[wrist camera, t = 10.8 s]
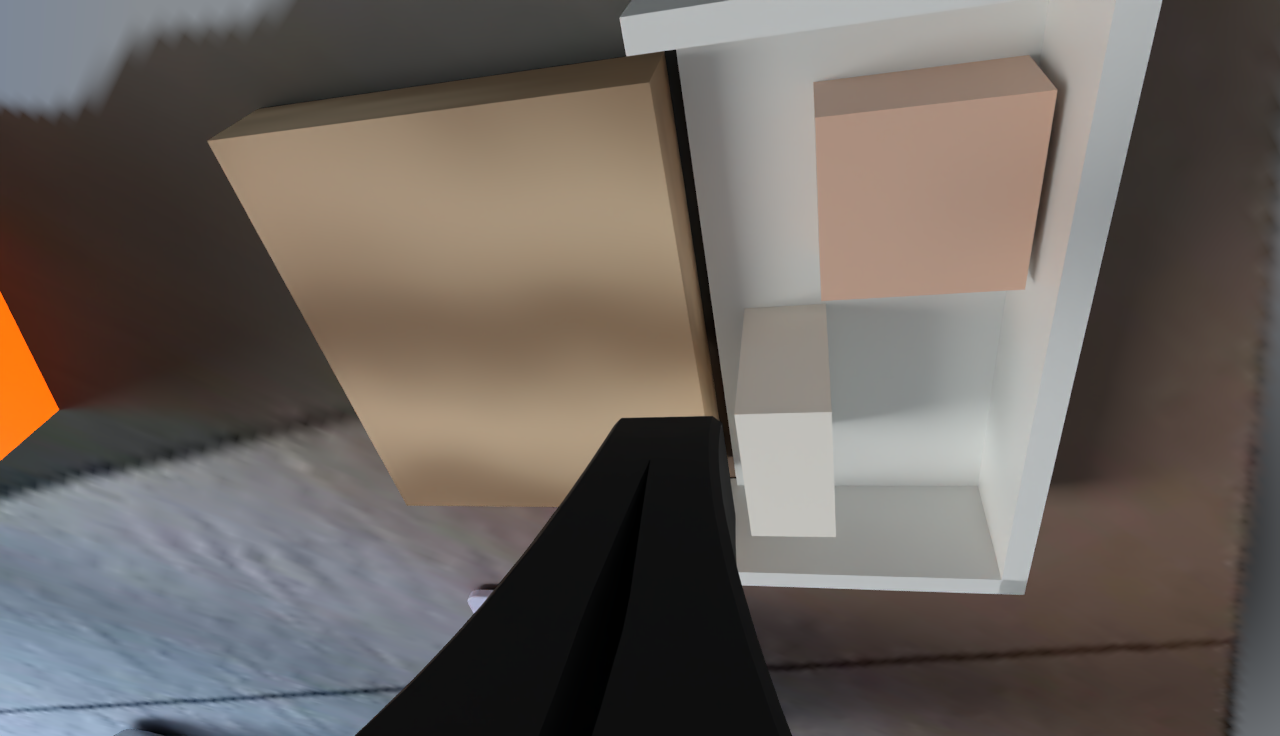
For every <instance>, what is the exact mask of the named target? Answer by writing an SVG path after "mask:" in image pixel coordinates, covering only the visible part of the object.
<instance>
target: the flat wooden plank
mask: <svg viewBox="0 0 1280 736" xmlns="http://www.w3.org/2000/svg"><path fill="white" fill-rule="evenodd" d="M207 142H208V143H209V145H210V147H211V149H212V151H213V153H214V154H215V156H216V158H217V160H218V162H219V163H220V165H221V167H222V169H223V171H224V173H225V174H226V176H227V178H228V180H229V182H230V184H231V185H232V187H233V189H234V191H235V193H236V194H237V196H238V198H239V200H240V202H241V204H242V205H243V207H244V209H245V211H246V213H247V215H248V216H249V218H250V220H251V222H252V224H253V225H254V227H255V229H256V231H257V233H258V235H259V236H260V238H261V240H262V242H263V244H264V246H265V247H266V249H267V251H268V253H269V255H270V256H271V258H272V260H273V262H274V264H275V266H276V267H277V269H278V271H279V273H280V275H281V277H282V278H283V280H284V282H285V284H286V286H287V288H288V289H289V291H290V293H291V295H292V297H293V298H294V300H295V302H296V304H297V306H298V308H299V309H300V311H301V313H302V315H303V317H304V319H305V320H306V322H307V324H308V326H309V328H310V329H311V331H312V333H313V335H314V337H315V339H316V340H317V342H318V344H319V346H320V348H321V350H322V351H323V353H324V355H325V357H326V359H327V360H328V362H329V364H330V366H331V368H332V370H333V371H334V373H335V375H336V377H337V379H338V381H339V382H340V384H341V386H342V388H343V390H344V392H345V393H346V395H347V397H348V399H349V401H350V402H351V404H352V406H353V408H354V410H355V412H356V413H357V415H358V417H359V419H360V421H361V423H362V424H363V426H364V428H365V430H366V432H367V433H368V435H369V437H370V439H371V441H372V443H373V444H374V446H375V448H376V450H377V452H378V454H379V455H380V457H381V459H382V461H383V463H384V464H385V466H386V468H387V470H388V472H389V474H390V475H391V477H392V479H393V481H394V483H395V485H396V486H397V488H398V490H399V492H400V494H401V495H402V497H403V499H404V501H405V503H406V505H410V506H519V507H559V506H560V504H561V503H562V502H563V500H564V499H565V497H566V496H567V495H568V493H569V492H570V490H571V489H572V487H573V486H574V484H575V483H576V482H577V480H578V479H579V477H580V476H581V474H582V473H583V472H584V470H585V469H586V467H587V466H588V464H589V463H590V461H591V460H592V458H593V457H594V455H595V454H596V452H597V451H598V449H599V448H600V446H601V445H602V443H603V442H604V440H605V439H606V437H607V436H608V434H609V432H610V431H611V429H612V428H613V426H614V425H615V424H616V423H617V422H618V421H619V420H620V419H621V418H642V417H688V416H713V417H715V418H716V419H717V420H719V413H718V406H717V400H716V393H715V386H714V380H713V373H712V366H711V360H710V353H709V346H708V340H707V333H706V326H705V320H704V313H703V306H702V300H701V293H700V286H699V280H698V273H697V266H696V260H695V253H694V246H693V240H692V233H691V226H690V220H689V213H688V206H687V199H686V193H685V186H684V179H683V173H682V166H681V159H680V153H679V146H678V139H677V133H676V126H675V119H674V113H673V106H672V99H671V93H670V86H669V79H668V73H667V66H666V59H665V53H664V51H662V52H655V53H648V54H641V55H634V56H627V57H620V58H613V59H606V60H599V61H592V62H585V63H578V64H571V65H564V66H557V67H550V68H543V69H535V70H528V71H521V72H514V73H507V74H500V75H493V76H486V77H479V78H472V79H465V80H458V81H451V82H444V83H437V84H430V85H423V86H416V87H409V88H402V89H395V90H388V91H381V92H374V93H367V94H360V95H353V96H346V97H339V98H332V99H325V100H318V101H311V102H303V103H296V104H289V105H282V106H275V107H268V108H261V109H257V110H256V111H254V112H253V113H251V114H249V115H248V116H246V117H245V118H243V119H241V120H240V121H238V122H237V123H235V124H233V125H232V126H230V127H229V128H227V129H225V130H224V131H222V132H221V133H219V134H217V135H216V136H214V137H213V138H211V139H209V140H208V141H207ZM719 421H720V420H719Z"/></svg>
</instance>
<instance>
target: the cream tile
mask: <svg viewBox="0 0 1280 736" xmlns="http://www.w3.org/2000/svg"><path fill="white" fill-rule="evenodd" d="M734 416H735V423H736V430H737V437H738V444H739V451H740V458H741V465H742V472H743V479H744V486H745V493H746V500H747V507H748V514H749V521H750V528H751V535H752V536H787V537H836V518H835V490H834V462H833V433H832V408H831V389H830V371H829V353H828V335H827V316H826V304H812V305H796V306H780V307H763V308H747V309H744V320H743V330H742V340H741V351H740V361H739V371H738V382H737V392H736V402H735V413H734Z"/></svg>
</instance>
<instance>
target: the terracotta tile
mask: <svg viewBox="0 0 1280 736" xmlns="http://www.w3.org/2000/svg"><path fill="white" fill-rule="evenodd" d="M813 91H814V120H815V150H816V179H817V208H818V237H819V263H820V285H821V301H832V300H849V299H867V298H884V297H902V296H919V295H937V294H954V293H972V292H990V291H1007V290H1025V286H1026V280H1027V274H1028V268H1029V262H1030V256H1031V250H1032V244H1033V237H1034V231H1035V225H1036V219H1037V213H1038V207H1039V201H1040V195H1041V189H1042V183H1043V176H1044V170H1045V164H1046V158H1047V152H1048V146H1049V140H1050V134H1051V128H1052V122H1053V115H1054V109H1055V103H1056V97H1057V91H1058V90H1057V88H1056V87H1055V86H1054V85H1053V84H1052V82H1051V81H1050V80H1049V79H1048V77H1047V76H1046V75H1045V74H1044V73H1043V71H1042V70H1041V69H1040V68H1039V66H1038V65H1037V64H1036V63H1035V62H1034V60H1033V59H1032V58H1031V57H1030V55H1024V56H1017V57H1009V58H1001V59H993V60H985V61H977V62H969V63H961V64H953V65H945V66H937V67H929V68H922V69H914V70H906V71H898V72H890V73H882V74H874V75H866V76H858V77H850V78H842V79H835V80H827V81H819V82H813Z"/></svg>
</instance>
